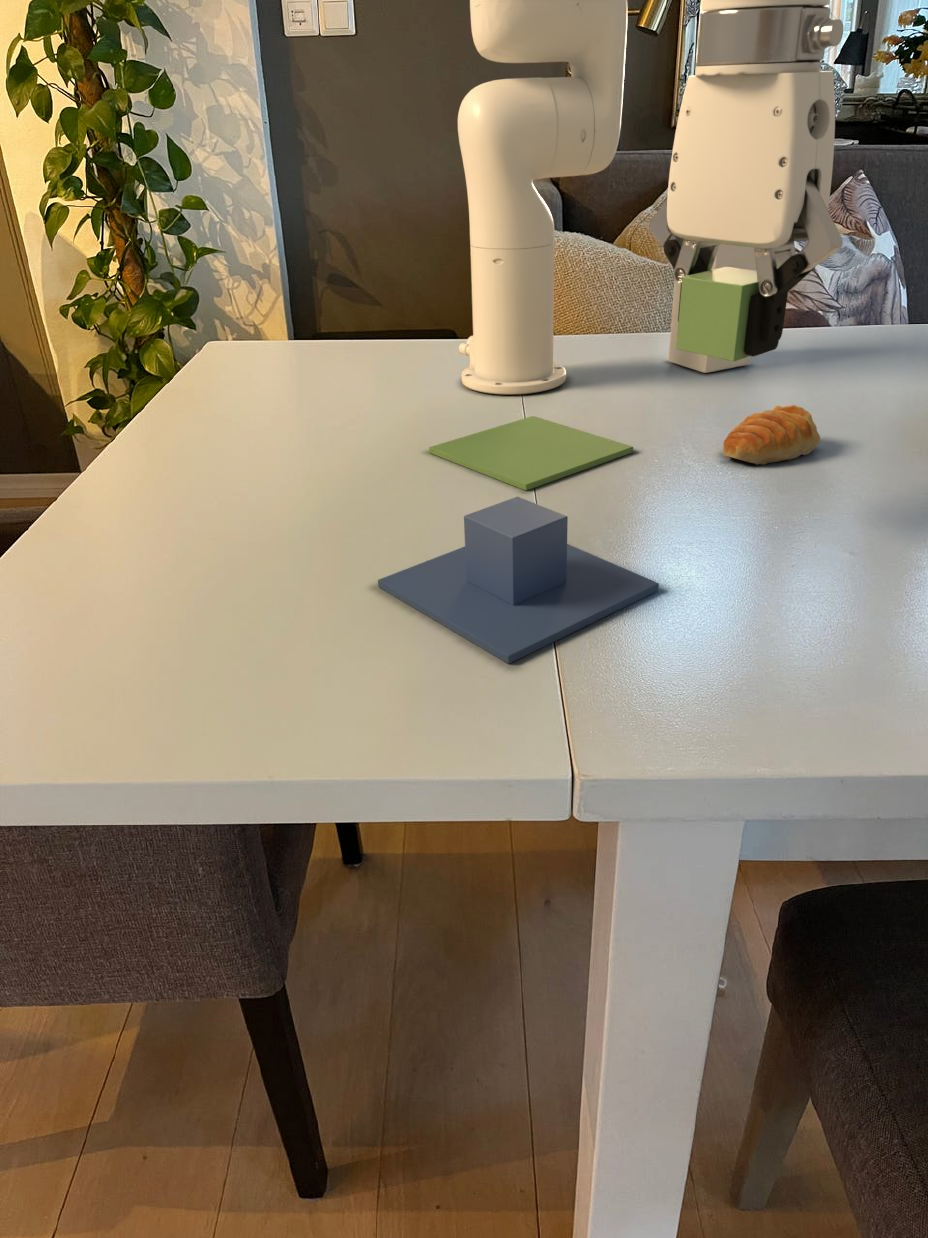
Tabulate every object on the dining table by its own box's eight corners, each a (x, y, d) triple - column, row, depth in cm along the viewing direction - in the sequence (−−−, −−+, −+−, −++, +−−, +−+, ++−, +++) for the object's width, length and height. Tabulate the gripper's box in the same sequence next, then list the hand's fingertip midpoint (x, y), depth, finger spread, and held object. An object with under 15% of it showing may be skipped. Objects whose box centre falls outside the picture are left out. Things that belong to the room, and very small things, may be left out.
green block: (675, 348, 66) (682, 276, 64) (718, 336, 69) (726, 266, 67) (733, 361, 63) (742, 285, 61) (776, 348, 66) (786, 274, 63)
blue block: (465, 581, 65) (463, 515, 62) (518, 559, 68) (517, 495, 65) (513, 605, 61) (512, 537, 59) (566, 582, 64) (568, 515, 62)
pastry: (763, 474, 82) (768, 433, 80) (702, 456, 87) (706, 417, 85) (823, 449, 87) (829, 410, 85) (762, 434, 92) (767, 396, 90)
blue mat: (378, 587, 66) (377, 579, 66) (522, 530, 73) (522, 524, 73) (508, 664, 56) (508, 656, 56) (658, 590, 64) (659, 583, 64)
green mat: (428, 452, 90) (428, 446, 90) (533, 420, 98) (533, 415, 98) (526, 490, 81) (526, 484, 80) (633, 452, 88) (633, 446, 88)
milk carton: (705, 374, 111) (721, 202, 102) (667, 362, 117) (679, 198, 107) (750, 365, 114) (770, 197, 104) (711, 354, 119) (727, 193, 110)
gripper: (924, 39, 53) (864, 356, 62) (687, 51, 65) (666, 318, 74) (854, 40, 49) (801, 379, 58) (614, 53, 60) (602, 334, 70)
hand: (726, 342), depth 66 cm, fingers closed on green block, 5 cm apart
